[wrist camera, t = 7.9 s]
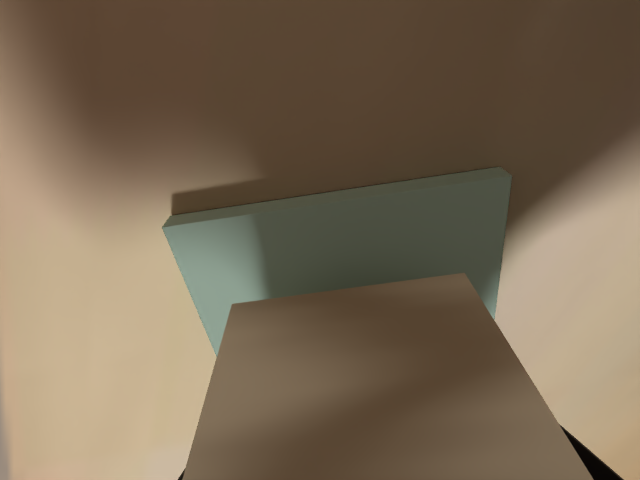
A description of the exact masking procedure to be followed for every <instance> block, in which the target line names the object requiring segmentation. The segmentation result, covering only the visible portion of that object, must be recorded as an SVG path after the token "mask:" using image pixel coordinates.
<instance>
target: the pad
mask: <svg viewBox="0 0 640 480" xmlns="http://www.w3.org/2000/svg"><path fill="white" fill-rule="evenodd" d="M511 182H512V175H511V174H509V173H508V172H507V171H505V170H504V169H502V168H501V167H494V168H488V169H481V170H474V171H468V172H461V173H454V174H448V175H441V176H434V177H427V178H421V179H414V180H407V181H401V182H394V183H387V184H380V185H374V186H367V187H360V188H354V189H347V190H340V191H333V192H327V193H320V194H313V195H307V196H300V197H293V198H287V199H280V200H273V201H266V202H260V203H253V204H246V205H240V206H233V207H226V208H219V209H213V210H206V211H199V212H193V213H186V214H179V215H173V216H170V217H169V219H168V220H167V221H166V223H165V224H164V225H163V227H162V229H163V231H164V233H165V236H166V238H167V240H168V243H169V245H170V247H171V250H172V252H173V255H174V257H175V259H176V262H177V264H178V266H179V269H180V271H181V273H182V276H183V278H184V281H185V283H186V285H187V288H188V290H189V292H190V295H191V297H192V300H193V302H194V304H195V307H196V309H197V311H198V314H199V316H200V318H201V321H202V323H203V326H204V328H205V330H206V333H207V335H208V337H209V340H210V342H211V345H212V347H213V349H214V352H215V354H216V356H217V355H218V351H219V348H220V344H221V341H222V337H223V334H224V330H225V327H226V323H227V319H228V316H229V312H230V309H231V305H232V304H235V303H242V302H250V301H257V300H265V299H272V298H280V297H287V296H295V295H302V294H309V293H317V292H324V291H332V290H339V289H347V288H354V287H362V286H369V285H376V284H384V283H391V282H399V281H406V280H414V279H421V278H429V277H436V276H443V275H451V274H458V273H465V274H466V276H467V277H468V279H469V281H470V282H471V284H472V285H473V287H474V289H475V290H476V292H477V293H478V295H479V297H480V298H481V300H482V301H483V303H484V305H485V306H486V308H487V310H488V311H489V313H490V314H491V316H492V318H493V319H495V311H496V303H497V295H498V287H499V278H500V270H501V262H502V254H503V246H504V238H505V230H506V222H507V214H508V206H509V198H510V190H511Z"/></svg>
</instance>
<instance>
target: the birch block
mask: <svg viewBox="0 0 640 480" xmlns="http://www.w3.org/2000/svg"><path fill="white" fill-rule="evenodd" d="M182 480H593V478H592V476H591V475H590V473H589V472H588V470H587V468H586V467H585V465H584V463H583V462H582V460H581V459H580V457H579V455H578V454H577V452H576V451H575V449H574V447H573V446H572V444H571V443H570V441H569V439H568V438H567V436H566V435H565V433H564V431H563V430H562V428H561V427H560V425H559V423H558V422H557V420H556V419H555V417H554V415H553V414H552V412H551V411H550V409H549V407H548V406H547V404H546V403H545V401H544V399H543V398H542V396H541V395H540V393H539V391H538V390H537V388H536V387H535V385H534V383H533V382H532V380H531V378H530V377H529V375H528V374H527V372H526V370H525V369H524V367H523V366H522V364H521V362H520V361H519V359H518V358H517V356H516V354H515V353H514V351H513V350H512V348H511V346H510V345H509V343H508V342H507V340H506V338H505V337H504V335H503V334H502V332H501V330H500V329H499V327H498V326H497V324H496V322H495V321H494V319H493V318H492V316H491V314H490V313H489V311H488V310H487V308H486V306H485V305H484V303H483V301H482V300H481V298H480V297H479V295H478V293H477V292H476V290H475V289H474V287H473V285H472V284H471V282H470V281H469V279H468V277H467V276H466V274H465V273H458V274H451V275H443V276H436V277H429V278H421V279H414V280H406V281H399V282H391V283H384V284H376V285H369V286H362V287H354V288H347V289H339V290H332V291H324V292H317V293H309V294H302V295H295V296H287V297H280V298H272V299H265V300H257V301H250V302H242V303H235V304H232V305H231V309H230V312H229V316H228V319H227V323H226V327H225V330H224V334H223V337H222V341H221V344H220V348H219V351H218V355H217V358H216V362H215V366H214V369H213V373H212V376H211V380H210V383H209V387H208V390H207V394H206V398H205V401H204V405H203V408H202V412H201V415H200V419H199V422H198V426H197V429H196V433H195V437H194V440H193V444H192V447H191V451H190V454H189V458H188V461H187V465H186V468H185V472H184V476H183V479H182Z"/></svg>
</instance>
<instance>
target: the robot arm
mask: <svg viewBox="0 0 640 480" xmlns="http://www.w3.org/2000/svg"><path fill="white" fill-rule="evenodd" d="M559 425H560V424H559ZM560 427H561V428H562V430H563V431H564V433H565V435H566V436H567V438H568V439H569V441H570V443H571V444H572V446H573V447H574V449H575V451H576V452H577V454H578V455H579V457H580V459H581V460H582V462H583V463H584V465H585V467H586V468H587V470H588V472H589V473H590V475H591V476H592V478H593V480H623V479H622V478H621V477H620V476H619V475H618V474H616V473H615V472H614V471H613V470H612V469H611V468H610V467H608V466H607V465H606V464H605V463H604V462H603V461H601V460H600V459H599V458H598V457H597V456H596V455H594V454H593V453H592V452H591V451H590V450H589V449H587V448H586V447H585V446H584V445H583V444H582V443H581V442H579V441H578V440H577V439H576V438H575V437H574V436H572V435H571V434H570V433H569V432H568V431H567V430H565V429H564V428H563V427H562V426H561V425H560ZM184 472H185V469H184V471H183V473H182V474H181V476H180V477H179V479H178V480H182V479H183V476H184Z"/></svg>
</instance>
